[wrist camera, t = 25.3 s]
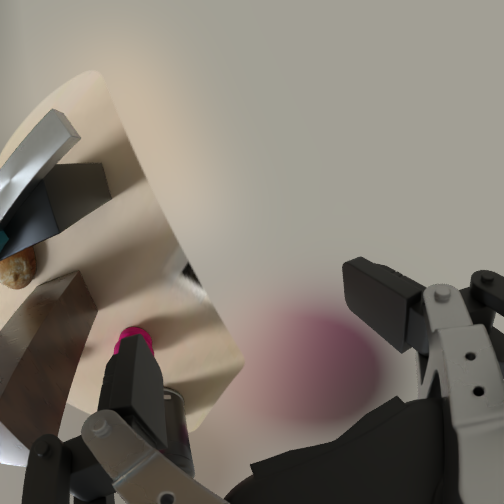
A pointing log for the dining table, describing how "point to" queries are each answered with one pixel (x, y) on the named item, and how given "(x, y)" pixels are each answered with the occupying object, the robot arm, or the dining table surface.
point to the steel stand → (56, 205)
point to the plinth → (41, 362)
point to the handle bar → (33, 163)
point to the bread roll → (18, 269)
